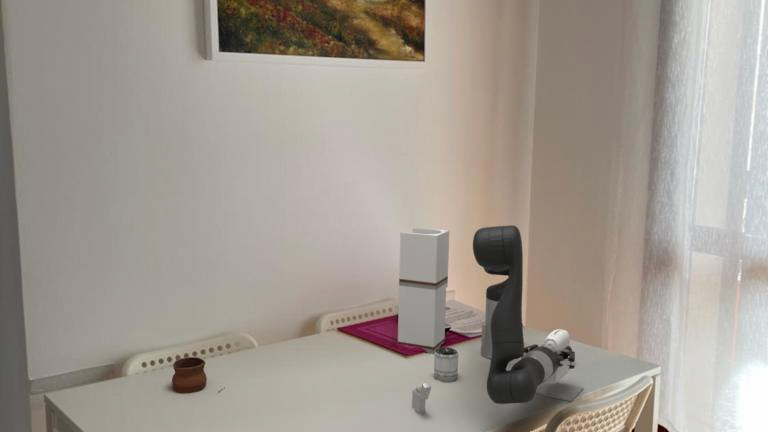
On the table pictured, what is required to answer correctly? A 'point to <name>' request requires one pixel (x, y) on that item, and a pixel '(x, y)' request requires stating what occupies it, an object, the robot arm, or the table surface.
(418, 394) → the lighter
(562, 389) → the felt pad
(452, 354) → the camera lens
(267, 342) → the table surface
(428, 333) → the tall white banded vase
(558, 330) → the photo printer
